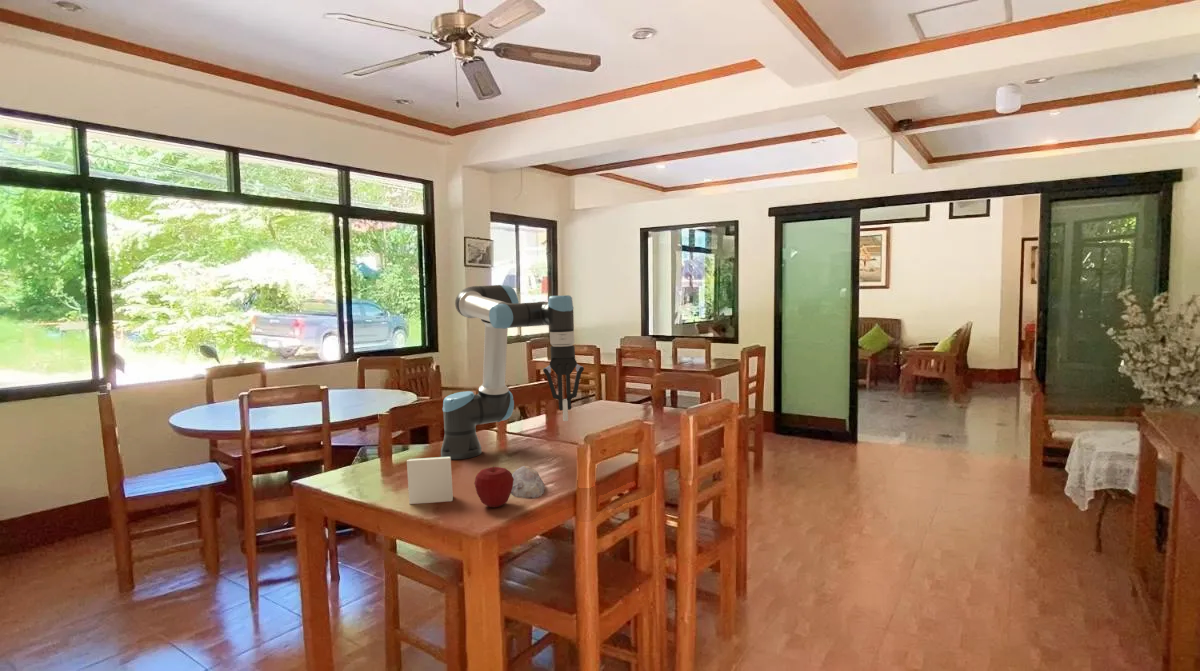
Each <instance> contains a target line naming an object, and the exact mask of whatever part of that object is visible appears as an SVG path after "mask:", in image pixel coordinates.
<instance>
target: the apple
mask: <svg viewBox="0 0 1200 671" xmlns="http://www.w3.org/2000/svg"><path fill="white" fill-rule="evenodd" d="M512 474H513V473H512V471H510V470H509V469H507V468H506V467H501V466H491V467H487V468H483V469H481V470H480V471H479V472H478V473H477V474H476V477H475V479H474V483H473V484H474V486H475V487H474V488H475V491H476V494H477V496H478V498H479V500H480V502H481V503H482V504H483V505H485V506H487V507H489V508H500V507H501V506H504V505H505V504H506V503H508V501H509V499H510V496H511V495H512V494H511V491H512V487H513V481H514V479H513V476H512Z"/></svg>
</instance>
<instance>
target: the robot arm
mask: <svg viewBox="0 0 1200 671" xmlns="http://www.w3.org/2000/svg"><path fill="white" fill-rule="evenodd" d="M519 302H520V301H519V298H518V295H517V293H516V291H515V289H514V288H513V287H512V286H510V285H504V284H503V285H502V284H495V285H494V284H492V285H491V284H490V285H473V286H468V287H466V288H464V289H462V290H461V291H459V292H458V294H457V295H456V298H455V301H454V305H455V309H456V311H457V312H458V314H459V315H460V316H462V317H464V318H468V319H475V318H477V319H480V321H481V323H482V324H484V338H483V339H484V340H483V365H482V367H483V368H482V384H481V385H480V386H479V387H478V392H477V394H475V393H474V391H472V390H471V391H470V390H467V391H459V392H455V393H453V394H452V393H451V394H449V395H447V396H445V397H444V398H443V402H442V412H443V429H444V436H443V441H442V445H441V448H440V457H451V460H463V459H465V460H466V459H471V458H474V457H477V456H480V455H481V454H482V446H481V443H480V440H479V437H478V435H477V432H476V431H477V429H476V426H478V425H484V424H489V423H500V422H501V421H506V420H508V419H509V418H510V417H512V414H513V412H514V408H515V400H514V396H513V393H512V392H511V391H510V389H509V387H508V386H507V385H506V372H507V371H506V370H507V353H508V352H507V349H508V330H509V329H510V328H522V327H537V326H538V327H539V326H549V342H550V345H551V346H550V349H549V350H550V362H549V365H547V366H546V367H543V369H542V371H543V374H544V375H545V377H546V378H547V382H548V384H549V389H550V391H551V395H552V398H553V399H555V400H558V409H559V411H562V421H563V422H568V421H569V411H570V410H571V409H572V400H573V399H574V398H577V396H578V391H579V386H580V382H581V380H580V379H581V376H582V373H583V371H584V370H585V368H584V366H583V365H580V364H578V362H577V360H576V351H575V350H576V348H575V345H574V344H575V329H574V328H575V326H574V324H575V320H574V303H573V297H572V296H571V295H569V294H568V295H566V294H565V295H564V294H562V295H550V296H549V297H548V300H547V301H537V302H534V301H533V302H521V303H519ZM551 369H552V370H551ZM574 370H575V371H576V374H575V378H574V383H573V389H572V388H571V374H572V373H573V372H574ZM552 371H553V372H554V373H555V374H556V375H557V393H558V394H557V393H556V389H555V386H554V381H553V379H552V375H551V372H552ZM562 376H565V385H566V386H565V388H566V398H564V397H563V377H562ZM571 389H572V390H571Z"/></svg>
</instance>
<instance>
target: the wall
mask: <svg viewBox="0 0 1200 671" xmlns="http://www.w3.org/2000/svg"><path fill="white" fill-rule="evenodd" d="M428 458H429V459H418V458H412V459H413V460H409V459H407V460H406V470H407V488H408V490H407V491H408V503H409V505H414V504H415V505H417V504H429V503H430V504H432V503H433V504H434V503H444V502H453V501H454V496H453V495H454V493H453V478H452V474H453V473H452V459H451V457H445V458H434V457H428Z"/></svg>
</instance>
